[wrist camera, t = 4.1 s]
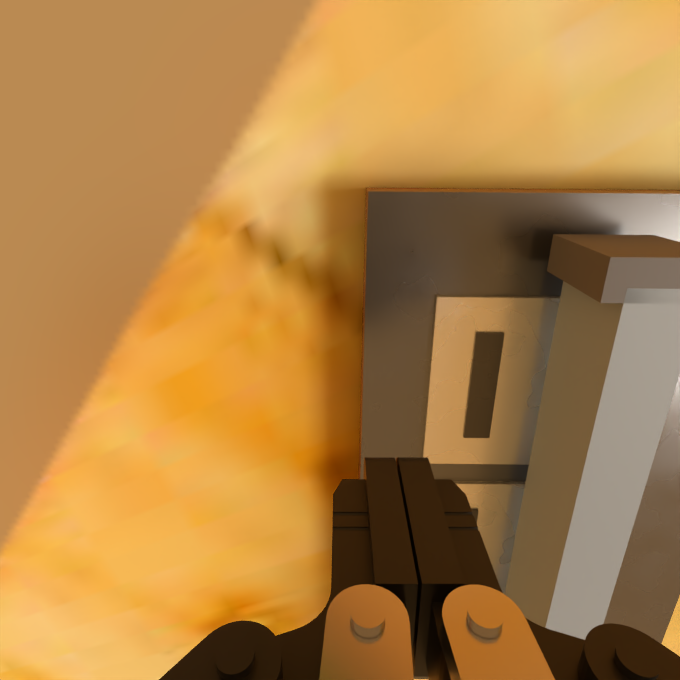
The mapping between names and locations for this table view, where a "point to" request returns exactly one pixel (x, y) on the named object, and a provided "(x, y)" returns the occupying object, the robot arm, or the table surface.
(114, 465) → the table surface
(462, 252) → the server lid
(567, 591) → the swing arm
